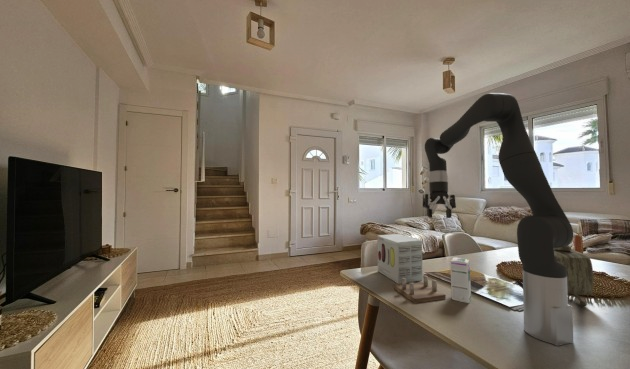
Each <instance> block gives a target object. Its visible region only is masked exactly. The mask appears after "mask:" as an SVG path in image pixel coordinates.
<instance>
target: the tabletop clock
mask: <svg viewBox="0 0 630 369" xmlns="http://www.w3.org/2000/svg"><path fill="white" fill-rule="evenodd" d="M554 256H555V260H556V261H557V262H560V263H562V264H564V265H565V266H566V268H567V292H568V295H569V294H570V295H571V294H572V295H574V297H575V298H576V299H577V300H579V305H581V307H587V305H588V304H587V302H585V301H583V300H582V299H581V297H580V295H585V296H586V295H587V296H589V295H590V296H591V295H592V293H593V291H594V270H593V264H592V261H591V258H590V256H588V255H587V254H584V253H583V252H579V251H577V250H573V249H572V247H571V246H570V244H569V245H567V246H565V247H560V248H554Z"/></svg>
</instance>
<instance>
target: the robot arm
mask: <svg viewBox="0 0 630 369" xmlns="http://www.w3.org/2000/svg"><path fill="white" fill-rule="evenodd" d="M483 122H496V123H497V124H498V127H499V128H500V131H501V135H502V142H501V144H500V147H499V152H498V162H499V165H500V168H501V170H502V173H503V176H504V178H505V179H506V181H507V182H508V183H509V184H510V185H511V187H512V188H514V190H516V191H517V193H519V195H521V196H522V197H523V199H524V200H525V202H526V203H527V205H528V206H529V208H530V211H531V213H532V215H527V216H524V217H522V218H521V219H520V220H519V222H518V224H517V227H516V238H517V241H516V242H517V251H518V258H519V260H520V262H521V264H522V296H523V297H522V300H523V301H522V302H523V303H522V304H523V330H524V331H525V333H527V334H528V335H529V336H531V337H533V338H536V339H537V340H540V341H543V342H546V343H550V344H552V345H555V346H557V347H558V346H562V345H566V344H572V343H574V325H573V324H574V319H573V318H574V316H573V315H574V313H573V306H572V305H570V304H569V301H568V300H569V299H568V298H569V297H568V296H569V294H568V292H567V268H566V266H565V265H564V264H562V263H560V262H557V261H556V260H555V256H554V248H560V247H565V246H567V245H569V246H570V244H571V243H572V241H573V239H574V229H573V226H572V224H571V222H570V220H569V218H568V216H567V215H566V213H565V211H564V209H563V208H562V206H561V205H560V203H559V201H558V200H557V197H556V196H555V194H554V192H553V190H552V187H551V185H550V183H549V181H548V179H547V176H546V175H545V172H544V170H543V167H542V164H541V162H540V160H539V157H538V155H537V152H536V150H535V149H534V146H533V144H532V142H531V140H530V136H529V133H528V132H527V129H526V127H525V123H524V120H523V116H522V112H521V108H520V106H519V103H518V100H517V98H516V97H515V96H514V95H513V94H511V93H503V92H502V93H501V92H490V93H489V92H488V93H485V94H483V95H481V96H480V97H479V98H478V99H477V100H476V101H475V102H474V103H473V104H472V105H471V106H470V107H469V109H467V110H466V111H465V112H464V114H463V115H462V116H460V118H459V119H457V121H455V123H453V124H452V125H451V126H449V127H448V128H447V129H445V130H444V131H443V132H441V134H440V135H439V138H438V137H429V138H427V139H426V141H425V143H424V151H425V152H424V153H425V154H426V157H427V160H428V163H429V164H428V165H429V167H428V168H429V175H428V185H429V186H428V188H429V194H428V193H424V194H422V208H424V209H426V215H427V218H431V219H432V218H433V207H434V206H435V205H442V206H444V207H445V217H446V219H451V218H452V214H453V213H452V211H453V209H456V208H457V204H456V195H455V194H449V193H448V192H449V181H448V179H449V178H448V171H447V160H446V159H445V158H443V157H440V156H439V154H440V155H443V154H447V153H449V152H450V150H451V149H452V148H453V147H454V145H455V144H457V143H459V142H461V141H462V140H463V139H465V137H467V136H468V135H469V132H470V131H471V128H472V127H474V126H476V125H477V124H479V123H483ZM429 199H430V200H429Z"/></svg>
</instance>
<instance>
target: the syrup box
mask: <svg viewBox="0 0 630 369" xmlns="http://www.w3.org/2000/svg"><path fill="white" fill-rule="evenodd" d="M449 263H450V264H449V266H450V290H451V291H450V293H451V294H450V295H451V299H452V300H454V301H458V302H460V303H464V304H470V302H471V299H472V290H471V288H472V286H471V285H472V284H471V262H470V259H469V258H463V257H452V258H451V260H450V261H449Z"/></svg>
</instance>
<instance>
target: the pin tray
mask: <svg viewBox="0 0 630 369" xmlns="http://www.w3.org/2000/svg"><path fill="white" fill-rule="evenodd" d="M422 281H423V282H421V281H420V282H408V283H406V278H402V283H401V284H396V285H394V290H395V291H397V292H398V293H399V294H401V295H403V296H404V297H406V299H409V301H411V302H413V303H414V304H417V303H425V302H433V301H439V300H440V301H441V300H446V299H447V298H446V296H447V295H446V294H445V293H443V292H441V291H439V290H438V289H437V288H438V287H437V284H438V282H437V280H436V279H431V285H432V286H431V285H429V277H428V275H423V280H422Z"/></svg>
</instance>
